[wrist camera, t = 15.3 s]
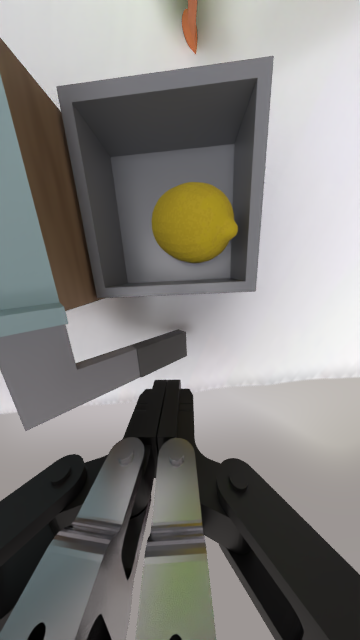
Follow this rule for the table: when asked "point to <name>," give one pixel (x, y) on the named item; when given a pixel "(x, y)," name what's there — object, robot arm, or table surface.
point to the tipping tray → (50, 312)
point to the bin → (168, 170)
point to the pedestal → (49, 181)
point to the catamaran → (190, 24)
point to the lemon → (193, 222)
